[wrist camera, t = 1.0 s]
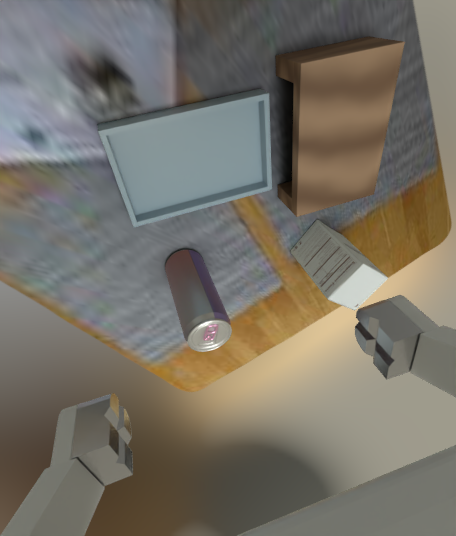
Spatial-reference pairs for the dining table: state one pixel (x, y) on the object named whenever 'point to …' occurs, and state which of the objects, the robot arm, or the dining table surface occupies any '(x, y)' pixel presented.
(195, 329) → the beverage can
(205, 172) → the grey-blue tray
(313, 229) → the supplement box
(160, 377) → the dining table surface
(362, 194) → the cubby
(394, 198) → the dining table surface
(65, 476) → the robot arm
